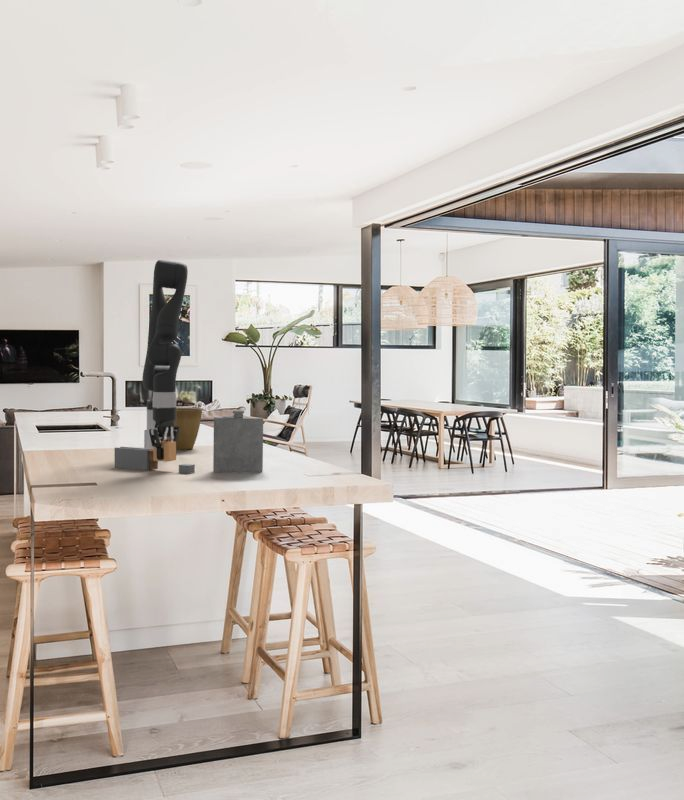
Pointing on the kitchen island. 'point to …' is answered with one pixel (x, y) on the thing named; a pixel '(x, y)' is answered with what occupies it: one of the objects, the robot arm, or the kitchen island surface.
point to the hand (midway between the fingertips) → (164, 458)
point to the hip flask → (238, 444)
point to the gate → (152, 463)
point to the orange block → (166, 451)
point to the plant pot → (187, 427)
